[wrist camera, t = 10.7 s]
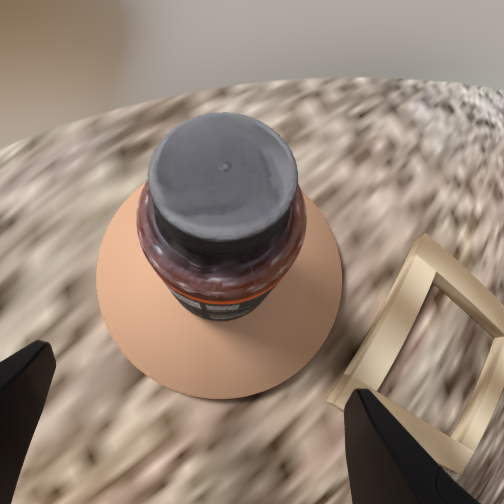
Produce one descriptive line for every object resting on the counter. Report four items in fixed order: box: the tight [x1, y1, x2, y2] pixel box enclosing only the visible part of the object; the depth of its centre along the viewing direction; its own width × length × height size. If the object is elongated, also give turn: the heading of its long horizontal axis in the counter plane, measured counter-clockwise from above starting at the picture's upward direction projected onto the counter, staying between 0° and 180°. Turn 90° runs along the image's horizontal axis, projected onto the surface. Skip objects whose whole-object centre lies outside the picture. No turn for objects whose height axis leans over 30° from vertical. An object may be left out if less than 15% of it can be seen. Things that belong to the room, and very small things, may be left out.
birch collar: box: [326, 233, 504, 474], centre depth 19 cm, size 13×13×2 cm
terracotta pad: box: [96, 183, 342, 399], centre depth 19 cm, size 15×15×1 cm
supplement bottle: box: [136, 112, 307, 321], centre depth 14 cm, size 6×6×11 cm
